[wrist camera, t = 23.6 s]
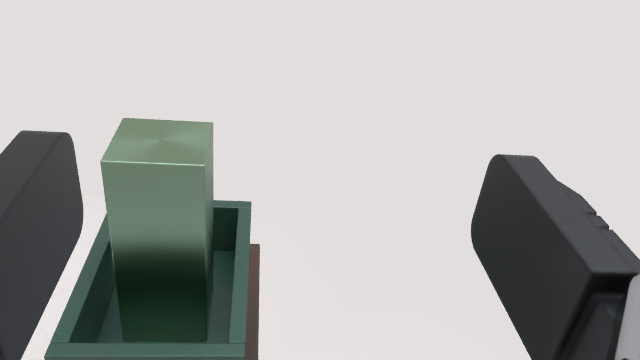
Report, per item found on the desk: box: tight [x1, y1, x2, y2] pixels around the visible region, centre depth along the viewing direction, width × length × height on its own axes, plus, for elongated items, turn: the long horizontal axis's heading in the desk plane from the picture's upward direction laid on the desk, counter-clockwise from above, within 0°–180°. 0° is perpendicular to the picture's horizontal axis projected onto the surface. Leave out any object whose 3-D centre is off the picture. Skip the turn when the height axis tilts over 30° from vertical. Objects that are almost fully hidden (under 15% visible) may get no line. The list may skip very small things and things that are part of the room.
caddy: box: [44, 200, 251, 360], centre depth 30 cm, size 9×13×4 cm
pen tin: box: [100, 118, 214, 341], centre depth 28 cm, size 4×4×11 cm
